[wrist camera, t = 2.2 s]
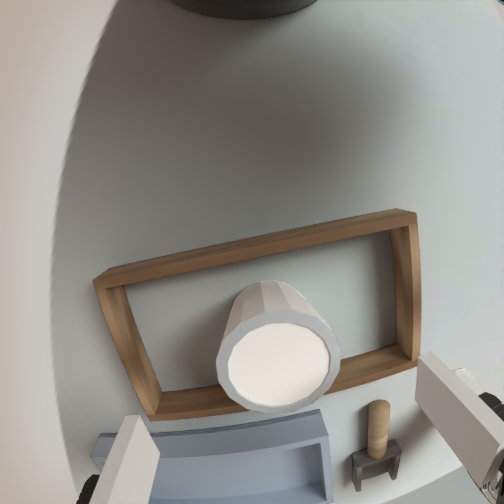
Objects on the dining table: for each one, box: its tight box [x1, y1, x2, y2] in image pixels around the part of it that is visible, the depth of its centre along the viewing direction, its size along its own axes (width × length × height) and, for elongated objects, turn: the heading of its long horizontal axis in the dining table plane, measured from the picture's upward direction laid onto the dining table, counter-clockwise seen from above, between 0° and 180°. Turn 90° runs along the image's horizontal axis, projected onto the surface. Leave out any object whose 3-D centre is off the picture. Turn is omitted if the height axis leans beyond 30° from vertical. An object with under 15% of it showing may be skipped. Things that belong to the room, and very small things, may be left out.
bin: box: [90, 409, 334, 504], centre depth 25 cm, size 12×21×4 cm, turn 102°
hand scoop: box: [352, 400, 401, 492], centre depth 26 cm, size 13×5×2 cm, turn 12°
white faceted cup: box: [216, 280, 341, 414], centre depth 20 cm, size 7×7×7 cm
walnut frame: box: [93, 209, 421, 421], centre depth 22 cm, size 12×21×3 cm, turn 102°
